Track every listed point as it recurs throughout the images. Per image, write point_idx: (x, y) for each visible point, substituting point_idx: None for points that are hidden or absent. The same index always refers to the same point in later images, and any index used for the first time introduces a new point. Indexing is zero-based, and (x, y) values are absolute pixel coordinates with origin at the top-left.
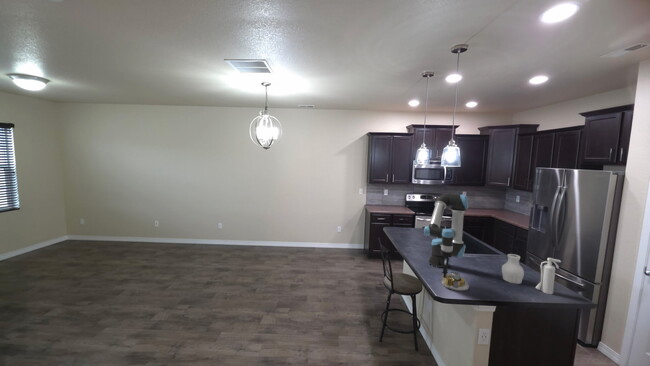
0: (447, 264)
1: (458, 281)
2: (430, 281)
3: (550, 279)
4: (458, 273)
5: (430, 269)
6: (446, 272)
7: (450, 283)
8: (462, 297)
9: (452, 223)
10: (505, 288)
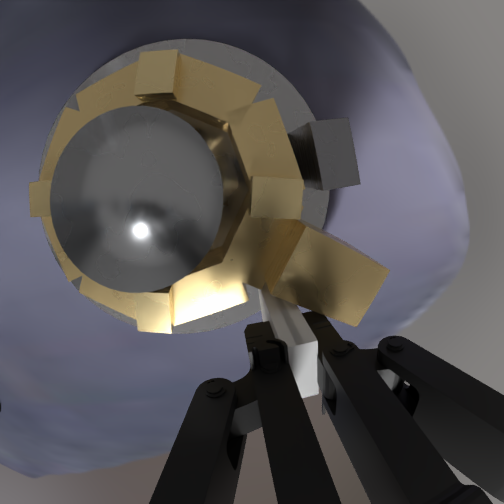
0: (474, 500)
1: (245, 124)
2: None
3: None
4: (73, 156)
5: (41, 410)
6: (425, 352)
7: (306, 222)
8: (404, 93)
9: None
10: None
